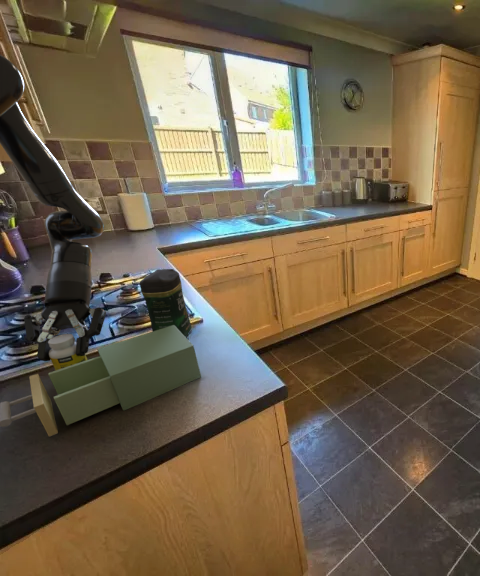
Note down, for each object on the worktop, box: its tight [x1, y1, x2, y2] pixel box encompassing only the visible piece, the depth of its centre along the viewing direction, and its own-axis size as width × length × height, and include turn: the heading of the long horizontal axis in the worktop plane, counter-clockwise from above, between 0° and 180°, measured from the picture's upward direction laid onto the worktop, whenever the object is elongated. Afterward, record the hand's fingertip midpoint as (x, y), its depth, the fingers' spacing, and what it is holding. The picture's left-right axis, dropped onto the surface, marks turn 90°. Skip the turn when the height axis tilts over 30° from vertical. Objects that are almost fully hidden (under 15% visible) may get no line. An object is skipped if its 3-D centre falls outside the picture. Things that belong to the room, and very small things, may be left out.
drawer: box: [0, 355, 120, 437], centre depth 63 cm, size 18×11×7 cm, turn 137°
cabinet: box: [97, 325, 202, 411], centre depth 72 cm, size 15×13×9 cm
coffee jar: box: [139, 268, 192, 338], centre depth 87 cm, size 10×8×19 cm
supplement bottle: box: [48, 333, 88, 371], centre depth 72 cm, size 5×5×10 cm
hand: (63, 357), depth 70 cm, fingers closed on supplement bottle, 5 cm apart
